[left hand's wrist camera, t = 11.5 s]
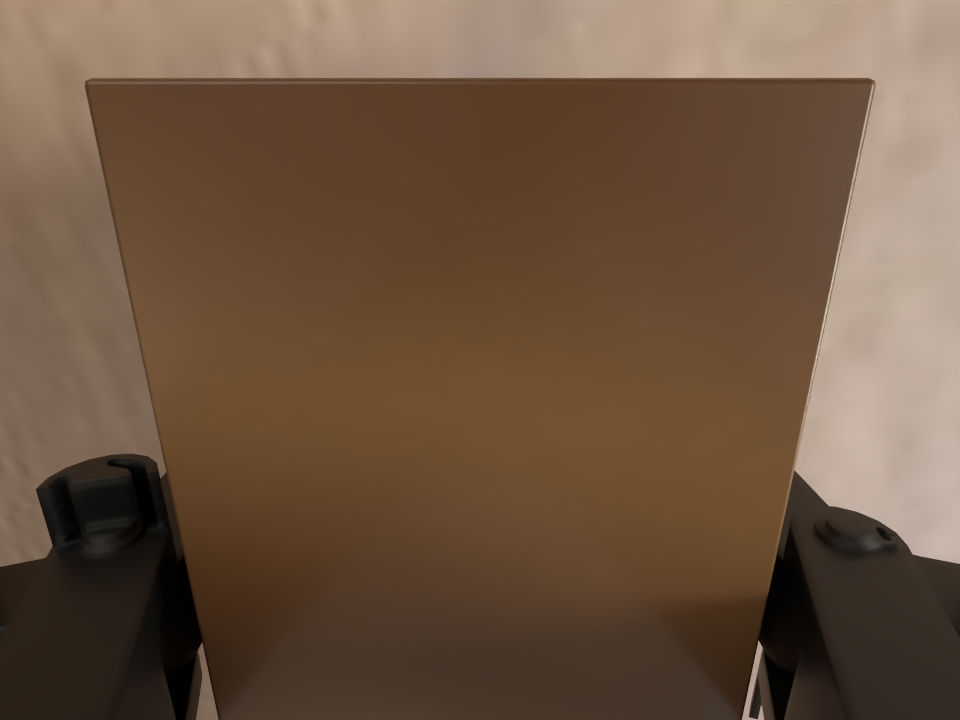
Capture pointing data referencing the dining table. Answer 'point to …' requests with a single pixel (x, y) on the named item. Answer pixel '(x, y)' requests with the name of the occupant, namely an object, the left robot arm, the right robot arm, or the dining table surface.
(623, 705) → the brown wooden beam
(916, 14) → the dining table surface
